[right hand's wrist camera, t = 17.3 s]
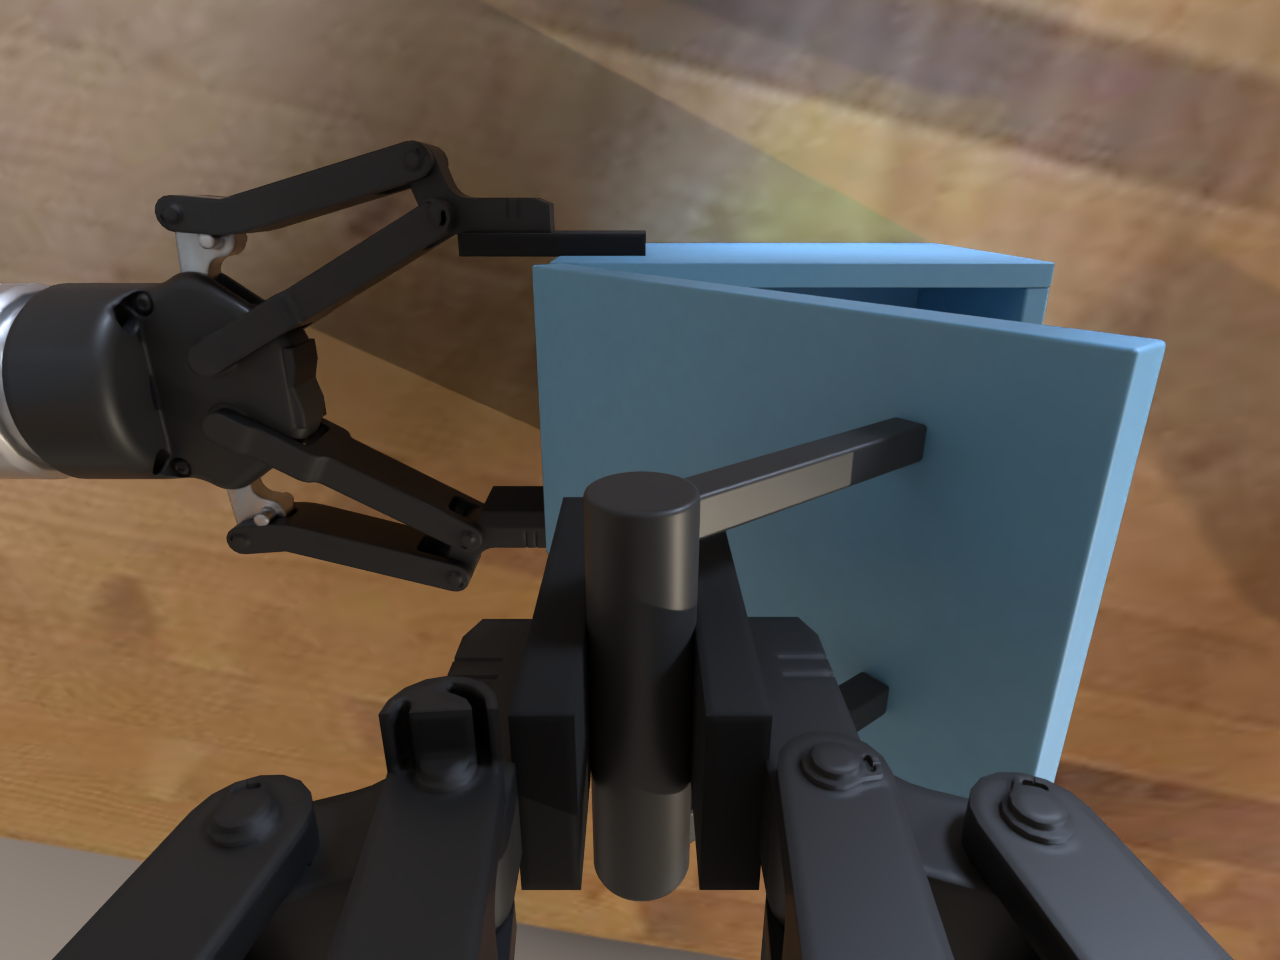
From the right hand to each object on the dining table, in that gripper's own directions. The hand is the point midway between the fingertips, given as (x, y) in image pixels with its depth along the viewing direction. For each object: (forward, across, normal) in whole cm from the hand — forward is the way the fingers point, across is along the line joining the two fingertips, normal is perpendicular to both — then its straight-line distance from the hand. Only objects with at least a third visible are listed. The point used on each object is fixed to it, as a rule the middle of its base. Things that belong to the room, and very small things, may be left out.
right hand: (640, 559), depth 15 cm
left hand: (+15, 0, 0) cm, 15 cm away
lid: (+4, +3, 0) cm, 5 cm away
